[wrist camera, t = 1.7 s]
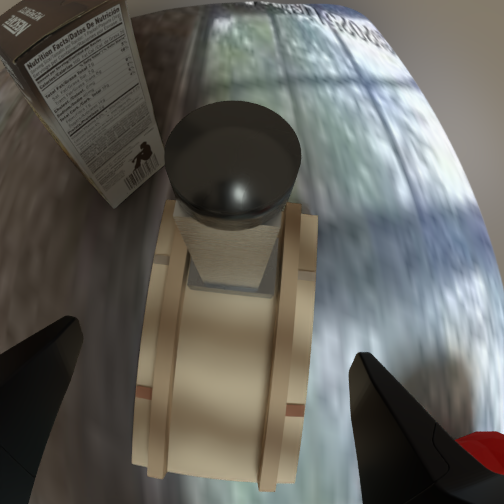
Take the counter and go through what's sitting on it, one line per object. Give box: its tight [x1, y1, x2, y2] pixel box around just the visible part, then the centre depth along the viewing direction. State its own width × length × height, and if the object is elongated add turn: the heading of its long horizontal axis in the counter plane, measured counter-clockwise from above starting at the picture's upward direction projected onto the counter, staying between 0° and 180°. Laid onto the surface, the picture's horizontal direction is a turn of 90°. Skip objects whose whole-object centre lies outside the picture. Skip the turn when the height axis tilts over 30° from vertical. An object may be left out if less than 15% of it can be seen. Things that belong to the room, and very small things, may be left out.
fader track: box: [132, 200, 318, 492], centre depth 19 cm, size 19×11×3 cm, turn 174°
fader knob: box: [164, 101, 301, 299], centre depth 15 cm, size 4×5×13 cm
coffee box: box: [0, 0, 165, 208], centre depth 17 cm, size 9×6×16 cm
